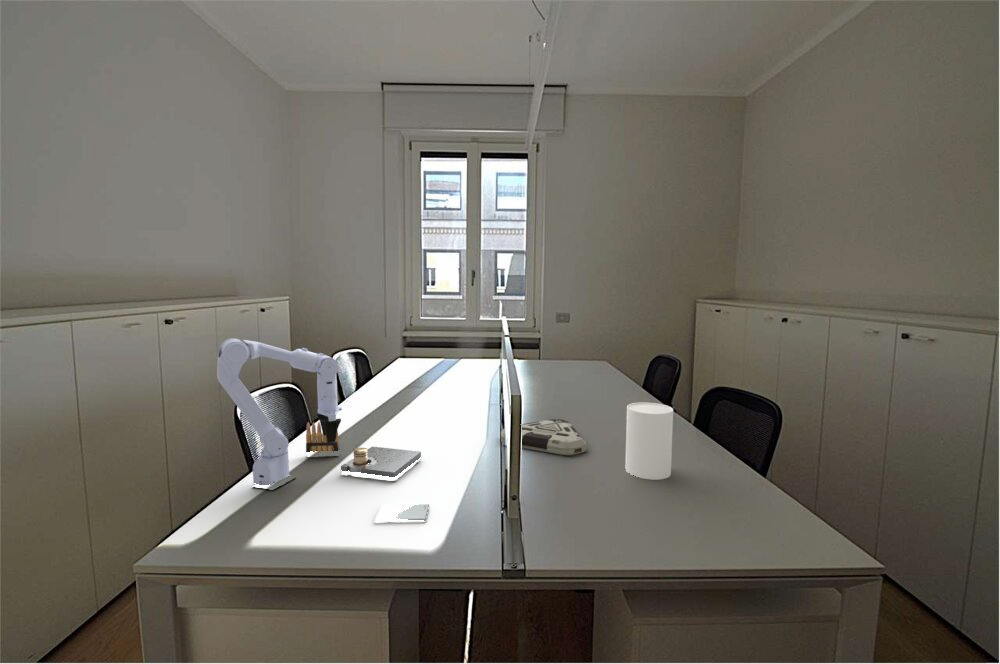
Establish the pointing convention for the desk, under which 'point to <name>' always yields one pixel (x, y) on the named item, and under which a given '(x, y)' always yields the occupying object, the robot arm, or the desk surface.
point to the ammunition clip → (319, 440)
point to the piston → (360, 456)
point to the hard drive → (415, 512)
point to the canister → (649, 440)
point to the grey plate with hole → (384, 461)
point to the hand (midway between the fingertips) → (329, 438)
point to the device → (551, 437)
